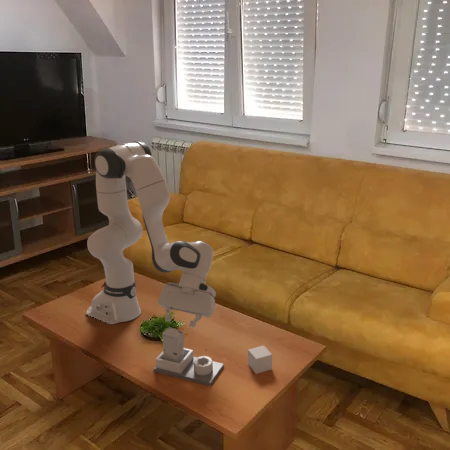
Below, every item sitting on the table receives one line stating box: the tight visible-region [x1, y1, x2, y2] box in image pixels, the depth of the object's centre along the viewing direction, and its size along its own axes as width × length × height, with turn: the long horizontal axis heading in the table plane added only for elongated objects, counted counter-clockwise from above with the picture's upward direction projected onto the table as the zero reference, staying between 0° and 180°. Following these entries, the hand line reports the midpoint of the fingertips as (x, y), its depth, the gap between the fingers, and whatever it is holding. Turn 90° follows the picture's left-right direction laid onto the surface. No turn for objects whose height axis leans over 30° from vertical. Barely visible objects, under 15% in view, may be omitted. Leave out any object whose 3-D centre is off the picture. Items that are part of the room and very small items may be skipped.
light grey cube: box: [247, 345, 273, 375], centre depth 173 cm, size 6×6×6 cm
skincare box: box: [162, 327, 185, 363], centre depth 173 cm, size 6×4×12 cm
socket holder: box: [153, 347, 225, 387], centre depth 173 cm, size 21×11×4 cm, turn 67°
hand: (179, 323), depth 176 cm, fingers open, 8 cm apart
